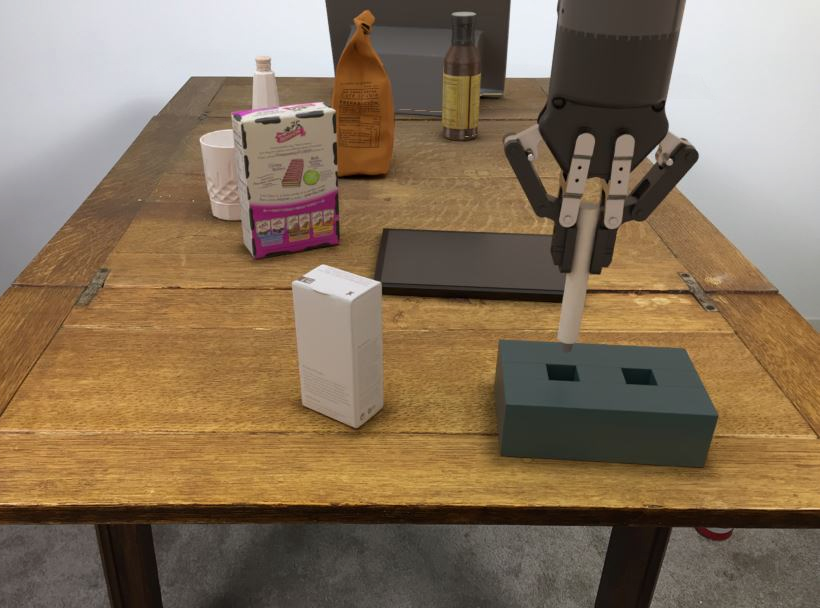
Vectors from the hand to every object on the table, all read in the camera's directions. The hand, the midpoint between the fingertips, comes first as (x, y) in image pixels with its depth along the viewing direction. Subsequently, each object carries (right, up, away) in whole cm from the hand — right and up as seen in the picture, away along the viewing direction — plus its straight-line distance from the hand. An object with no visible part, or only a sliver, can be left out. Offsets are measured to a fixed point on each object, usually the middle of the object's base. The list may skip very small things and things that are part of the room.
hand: (579, 268), depth 58 cm
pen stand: (+3, -12, +7) cm, 14 cm away
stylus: (0, -6, +4) cm, 7 cm away
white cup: (-33, +12, +47) cm, 59 cm away
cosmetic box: (-18, -11, +9) cm, 23 cm away
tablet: (-4, +3, +33) cm, 33 cm away
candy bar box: (-25, +6, +38) cm, 46 cm away
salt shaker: (-34, +35, +86) cm, 99 cm away
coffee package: (-17, +21, +63) cm, 69 cm away
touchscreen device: (-7, +42, +98) cm, 107 cm away
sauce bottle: (0, +30, +78) cm, 83 cm away
